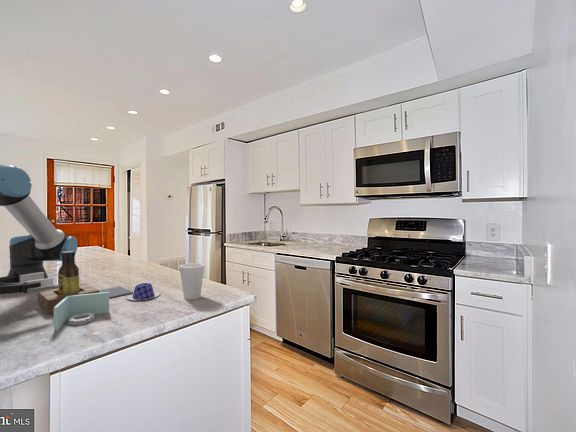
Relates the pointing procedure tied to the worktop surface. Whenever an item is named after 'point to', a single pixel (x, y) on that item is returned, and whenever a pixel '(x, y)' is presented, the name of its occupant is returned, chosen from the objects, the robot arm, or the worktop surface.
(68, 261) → the sauce bottle
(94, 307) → the mint folded panel
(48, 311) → the walnut collar
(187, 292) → the foam cup
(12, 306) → the worktop surface
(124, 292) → the grey mat
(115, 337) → the worktop surface
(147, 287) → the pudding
